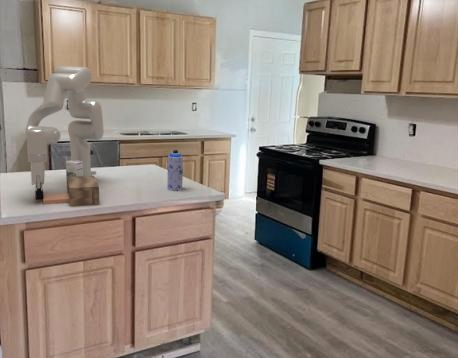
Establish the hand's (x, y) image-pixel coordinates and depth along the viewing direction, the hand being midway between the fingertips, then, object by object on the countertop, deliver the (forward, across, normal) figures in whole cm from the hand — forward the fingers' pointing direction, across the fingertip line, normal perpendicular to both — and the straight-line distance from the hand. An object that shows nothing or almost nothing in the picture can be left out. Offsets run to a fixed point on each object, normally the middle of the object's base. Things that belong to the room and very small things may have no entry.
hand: (39, 199), depth 193 cm
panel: (+2, 0, +9) cm, 9 cm away
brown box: (+1, 0, +18) cm, 18 cm away
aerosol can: (+1, -9, +63) cm, 64 cm away
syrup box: (+1, -16, +16) cm, 23 cm away
